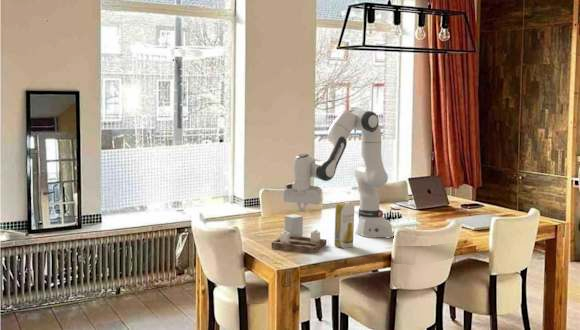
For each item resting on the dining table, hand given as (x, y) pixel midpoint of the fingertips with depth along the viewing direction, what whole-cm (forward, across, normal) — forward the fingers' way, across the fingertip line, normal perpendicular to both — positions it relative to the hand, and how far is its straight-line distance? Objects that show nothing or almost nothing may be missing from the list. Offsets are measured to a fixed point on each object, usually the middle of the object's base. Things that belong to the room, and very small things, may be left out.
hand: (302, 211), depth 339 cm
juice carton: (+19, -21, -6) cm, 29 cm away
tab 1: (+16, +6, +10) cm, 20 cm away
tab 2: (+17, -7, +1) cm, 18 cm away
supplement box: (+18, +9, -10) cm, 23 cm away
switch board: (+18, 0, +5) cm, 19 cm away
